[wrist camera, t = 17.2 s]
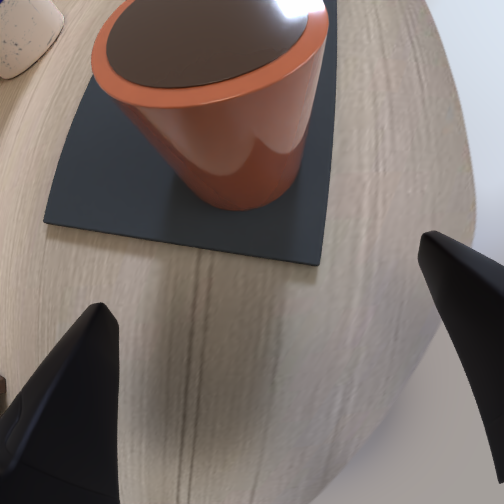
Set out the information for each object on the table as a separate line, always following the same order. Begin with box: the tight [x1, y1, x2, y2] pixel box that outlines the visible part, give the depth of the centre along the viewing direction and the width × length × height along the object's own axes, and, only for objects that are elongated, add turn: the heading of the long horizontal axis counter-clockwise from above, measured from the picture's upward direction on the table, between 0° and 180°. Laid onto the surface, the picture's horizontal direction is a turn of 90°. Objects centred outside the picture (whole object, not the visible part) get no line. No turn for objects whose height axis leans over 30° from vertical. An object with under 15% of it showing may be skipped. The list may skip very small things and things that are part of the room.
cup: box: [91, 0, 329, 211], centre depth 10 cm, size 6×6×9 cm
